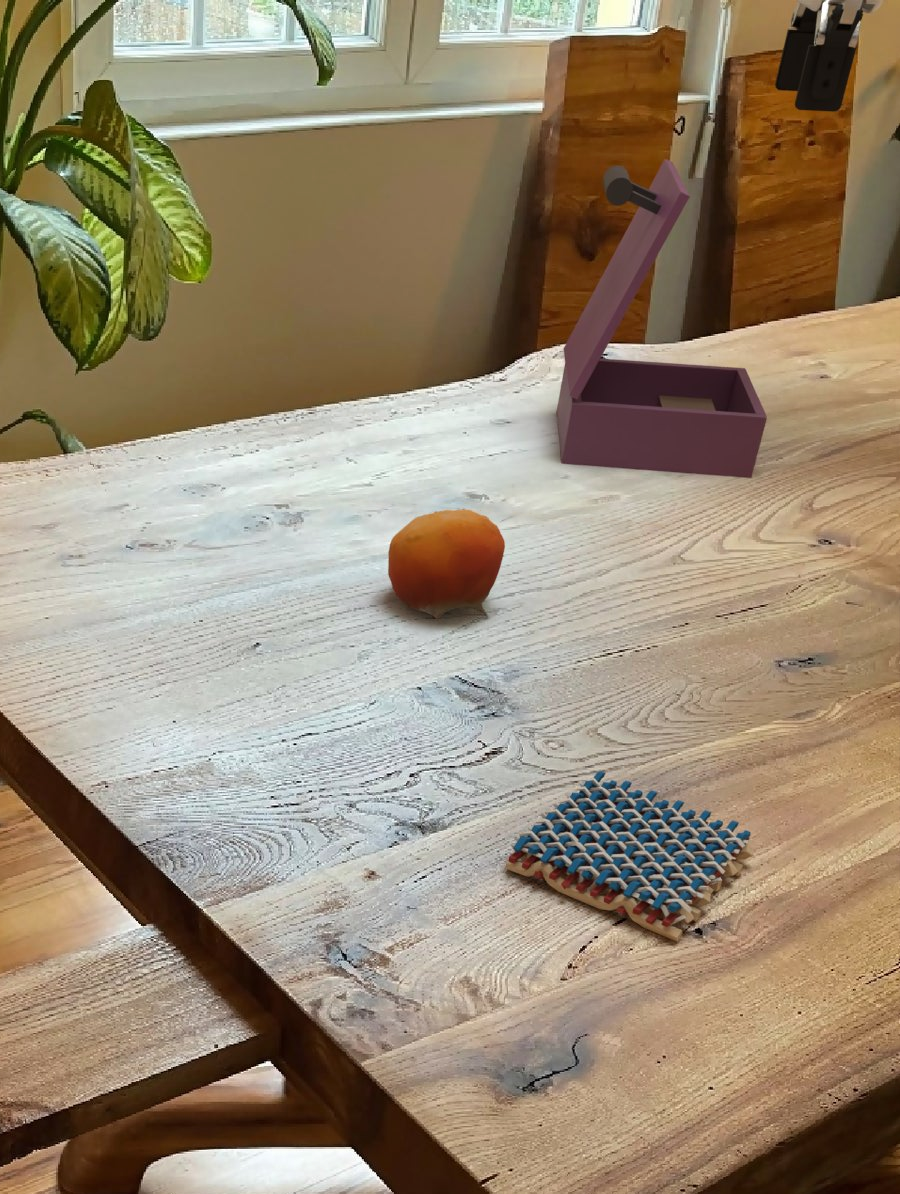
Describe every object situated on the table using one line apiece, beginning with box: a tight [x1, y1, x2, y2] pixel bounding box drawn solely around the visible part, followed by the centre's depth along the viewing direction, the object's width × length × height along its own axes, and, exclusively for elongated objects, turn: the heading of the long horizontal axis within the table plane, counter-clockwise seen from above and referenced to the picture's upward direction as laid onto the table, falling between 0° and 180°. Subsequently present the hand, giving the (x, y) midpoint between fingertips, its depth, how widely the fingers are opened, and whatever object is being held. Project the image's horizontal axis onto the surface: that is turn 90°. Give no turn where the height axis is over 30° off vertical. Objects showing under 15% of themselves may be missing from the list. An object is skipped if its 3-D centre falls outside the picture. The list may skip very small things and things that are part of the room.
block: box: [656, 395, 716, 411], centre depth 128 cm, size 4×4×4 cm
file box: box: [555, 358, 768, 479], centre depth 128 cm, size 16×14×7 cm
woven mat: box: [504, 770, 755, 942], centre depth 80 cm, size 10×11×2 cm
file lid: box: [563, 158, 691, 399], centre depth 121 cm, size 16×14×5 cm
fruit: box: [387, 509, 506, 622], centre depth 104 cm, size 8×8×8 cm
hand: (805, 99), depth 112 cm, fingers open, 9 cm apart
